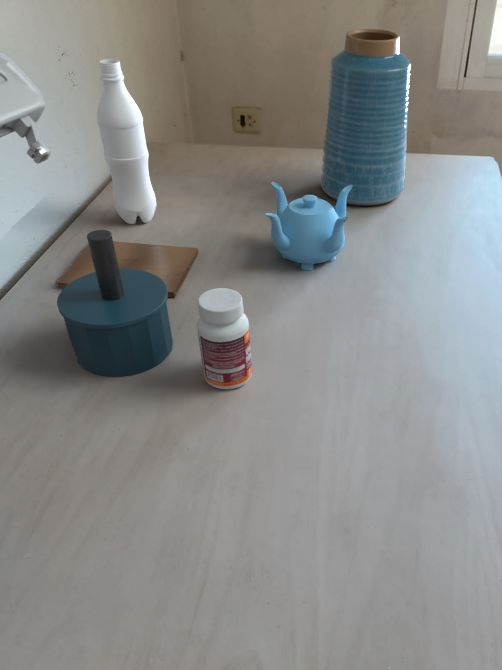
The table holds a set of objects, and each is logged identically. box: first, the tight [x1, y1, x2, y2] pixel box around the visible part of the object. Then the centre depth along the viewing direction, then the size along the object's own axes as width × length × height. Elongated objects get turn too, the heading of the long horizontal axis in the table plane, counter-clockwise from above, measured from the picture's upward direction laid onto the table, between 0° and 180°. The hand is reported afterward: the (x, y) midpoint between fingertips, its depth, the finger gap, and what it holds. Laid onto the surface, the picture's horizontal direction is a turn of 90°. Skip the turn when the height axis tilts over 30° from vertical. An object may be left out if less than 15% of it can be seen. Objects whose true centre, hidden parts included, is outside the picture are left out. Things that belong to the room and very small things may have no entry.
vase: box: [320, 28, 412, 207], centre depth 115 cm, size 16×16×27 cm
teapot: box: [264, 181, 353, 271], centre depth 100 cm, size 13×13×10 cm
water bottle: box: [96, 58, 157, 225], centre depth 104 cm, size 7×7×25 cm
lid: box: [56, 229, 168, 329], centre depth 76 cm, size 13×13×9 cm
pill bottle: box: [196, 287, 253, 390], centre depth 76 cm, size 6×6×11 cm
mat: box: [56, 240, 200, 299], centre depth 99 cm, size 18×14×1 cm
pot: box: [62, 302, 174, 378], centre depth 82 cm, size 13×13×8 cm
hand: (16, 172), depth 71 cm, fingers open, 8 cm apart
